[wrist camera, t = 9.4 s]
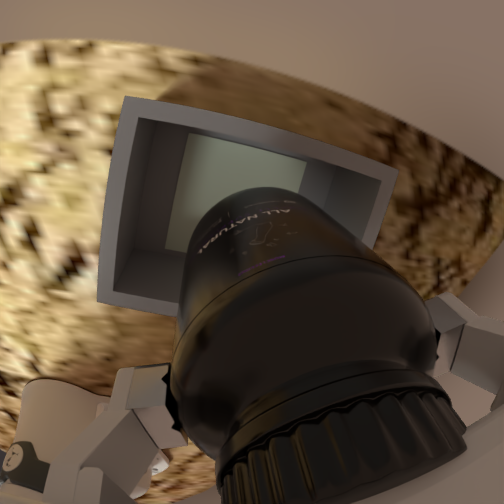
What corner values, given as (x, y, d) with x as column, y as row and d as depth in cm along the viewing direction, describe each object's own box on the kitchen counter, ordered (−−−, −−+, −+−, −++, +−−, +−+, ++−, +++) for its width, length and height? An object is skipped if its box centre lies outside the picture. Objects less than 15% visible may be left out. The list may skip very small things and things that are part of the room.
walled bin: (345, 155, 25) (399, 170, 18) (303, 284, 29) (335, 337, 22) (149, 105, 21) (124, 95, 14) (123, 252, 25) (96, 301, 18)
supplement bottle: (232, 154, 13) (399, 318, 2) (356, 229, 15) (555, 401, 4) (160, 287, 15) (121, 559, 4) (281, 338, 17) (361, 555, 6)
